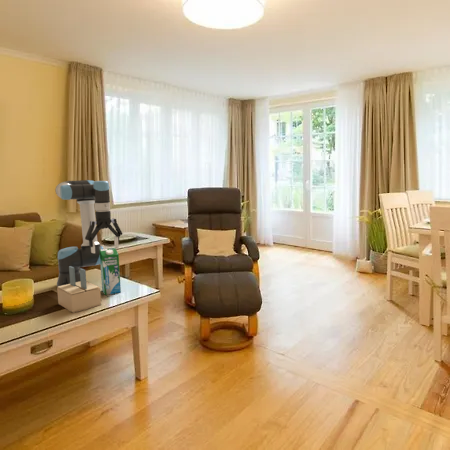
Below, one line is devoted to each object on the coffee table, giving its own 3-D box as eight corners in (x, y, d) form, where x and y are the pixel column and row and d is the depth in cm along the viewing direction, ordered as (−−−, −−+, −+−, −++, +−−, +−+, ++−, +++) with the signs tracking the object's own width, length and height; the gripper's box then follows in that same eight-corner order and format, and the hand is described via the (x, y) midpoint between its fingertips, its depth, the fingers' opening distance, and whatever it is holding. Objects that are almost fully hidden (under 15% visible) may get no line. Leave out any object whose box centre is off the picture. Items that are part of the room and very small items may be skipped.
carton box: (58, 304, 192) (57, 287, 191) (85, 297, 203) (84, 281, 202) (72, 312, 180) (71, 295, 179) (101, 304, 191) (100, 288, 189)
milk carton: (104, 295, 206) (101, 252, 202) (102, 290, 214) (99, 249, 210) (120, 292, 210) (118, 250, 206) (117, 288, 218) (115, 247, 214)
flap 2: (72, 284, 196) (71, 265, 195) (84, 281, 201) (83, 262, 200) (86, 290, 185) (85, 270, 183) (99, 287, 189) (98, 268, 188)
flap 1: (57, 287, 191) (56, 268, 189) (70, 284, 196) (69, 265, 194) (71, 294, 179) (69, 274, 177) (84, 291, 184) (83, 271, 182)
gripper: (83, 213, 176) (86, 256, 180) (127, 209, 195) (129, 247, 198) (76, 212, 181) (79, 253, 185) (119, 208, 200) (121, 245, 203)
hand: (105, 250), depth 191 cm, fingers open, 13 cm apart
